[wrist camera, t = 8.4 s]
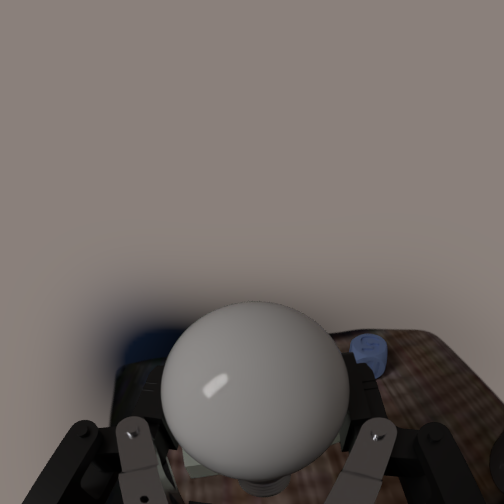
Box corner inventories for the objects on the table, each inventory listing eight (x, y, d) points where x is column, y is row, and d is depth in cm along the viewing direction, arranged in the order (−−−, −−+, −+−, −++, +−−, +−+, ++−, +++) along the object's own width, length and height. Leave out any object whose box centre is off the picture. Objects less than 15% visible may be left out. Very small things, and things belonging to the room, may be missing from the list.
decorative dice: (347, 381, 31) (352, 355, 30) (348, 357, 35) (352, 332, 33) (381, 382, 30) (388, 356, 28) (379, 359, 34) (385, 333, 32)
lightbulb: (243, 422, 17) (219, 258, 13) (342, 454, 14) (379, 285, 9) (182, 496, 12) (93, 345, 7) (293, 547, 9) (314, 449, 4)
